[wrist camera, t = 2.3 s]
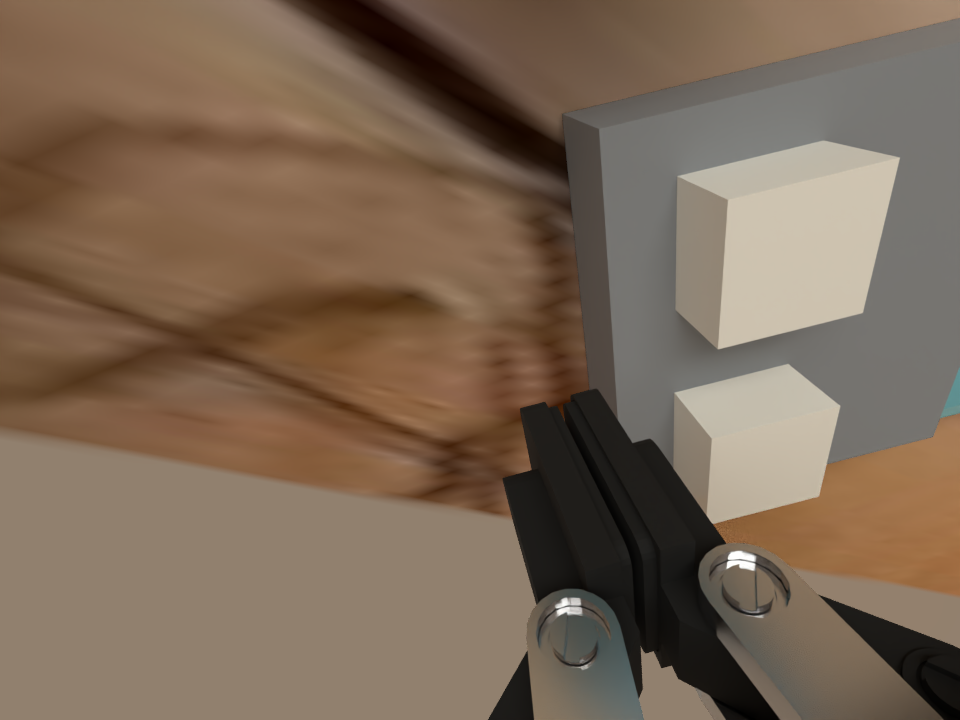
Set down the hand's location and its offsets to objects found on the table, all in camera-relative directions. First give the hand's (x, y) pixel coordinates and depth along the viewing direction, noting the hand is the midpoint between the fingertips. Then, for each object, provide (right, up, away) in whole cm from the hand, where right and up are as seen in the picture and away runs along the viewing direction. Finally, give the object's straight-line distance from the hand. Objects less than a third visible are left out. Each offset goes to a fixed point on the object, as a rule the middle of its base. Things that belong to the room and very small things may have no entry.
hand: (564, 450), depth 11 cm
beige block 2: (+9, -1, +12) cm, 15 cm away
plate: (+11, +6, +13) cm, 18 cm away
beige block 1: (+7, +7, +7) cm, 12 cm away
